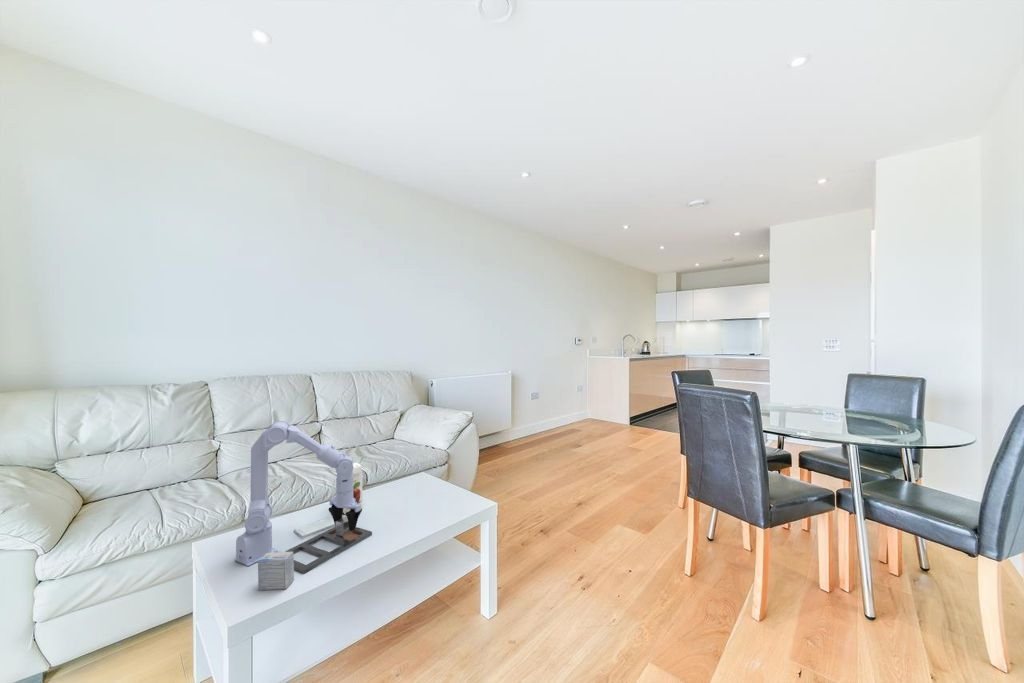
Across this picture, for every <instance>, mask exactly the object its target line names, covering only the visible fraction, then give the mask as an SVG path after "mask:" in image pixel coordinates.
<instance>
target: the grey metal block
mask: <svg viewBox="0 0 1024 683" xmlns="http://www.w3.org/2000/svg"><path fill="white" fill-rule="evenodd" d="M352 535H353V530H352V531H350V530H349V524H348V519H347V516H342V518H341V519H339V520H337V521H336V536H337V537H340V538H343V539H347V538H349V537H350V536H352Z"/></svg>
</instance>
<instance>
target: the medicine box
mask: <svg viewBox="0 0 1024 683" xmlns="http://www.w3.org/2000/svg"><path fill="white" fill-rule="evenodd" d="M294 560H295V558H294V554H293V552H285V551H278V552H272V553H267V554H265V555H264V556H263V557H262V558H261V559H260V560H259V561H258V562H257V574H258V575H257V578H258V579H257V581H258V582H257V586H258V591H270V590H271V591H272V590H286V589H288V588H289V586H290V585H292V583H293V582H294V581H295V570H294Z"/></svg>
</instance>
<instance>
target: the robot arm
mask: <svg viewBox="0 0 1024 683" xmlns="http://www.w3.org/2000/svg"><path fill="white" fill-rule="evenodd" d="M285 440H286V442H285ZM283 442H285V444H291V443H296V444H298V445H299V446H301V447H303V448H305V449H307V450H309V451H311V452H313V453H314V454H315V456H316V459H317V460H319V461H320V462H322V463H323V464H324V465H327V466H328V467H330V468H332V469H335V473H336V478H335V479H336V480H335V486H336V487H335V489H336V492H335V493H336V497H333V498H331V499H329V506H330V507H328V511H329V513H330V515H331V516H332V521H334V523H335V526H336V521H337V520H339V519H341V518H343V515H344V514H343V509H344V508H347V509H350V511H349V512H347V513H345V514H346V515H345V517H347V519H348V524H349V530H350V531H352V530H354V529H355V528H356V527H357V524H358V521H359V517H360V515H361V513H362V510H363V507H362V508H361V505H360V504H358V503H357V502H355V501H356V499H355V498H353V476H352V475H353V468H354V466H353V463H354V462H353V461H354V460H353V459H352V457H351V456H350V455H348V454H346V453H345V452H343V453H342V452H341V451H339V450H338V449H336V448H335V445H334V444H332V445H330V444H324V445H322V444H321V443H320V442H318V441H316V440H315V439H314V438H312V437H311V436H309V435H308V434H307V433H305V432H303V431H302V430H301V429H299V428H298V427H296V426H294V425H292V424H289V423H288V422H287V421H284V420H277V421H275V422H273V423H272V424H271V425H270V426H268V427H266V429H265V430H264V431H263V432H262V433H261V435H260V436H259V437H258V438H257V439H256V441H255V442H254V443H253V445H252V447H251V449H250V503H249V508H248V514H247V518H246V520H245V522H244V528H245V531H244V533H242V534H240V535H238V536H237V538H236V541H235V558H234V561H236V562H238V563H240V564H242V565H245V566H247V567H248V566H252V565H253V564H256V563H258V561H259V560H260V559H261V558H262V557H263V556H264V555H265V554H267V553H272V552H279V550H278V549H277V548H274V547H273V527H272V526H273V524H272V522H271V520H270V518H271V515H272V513H273V509H272V506H271V504H270V499H269V495H268V494H269V492H268V490H269V451H270V450H271V449H273V447H275V446H278V445H280V444H283Z"/></svg>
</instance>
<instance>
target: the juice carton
mask: <svg viewBox="0 0 1024 683" xmlns="http://www.w3.org/2000/svg"><path fill="white" fill-rule="evenodd" d="M353 466H354V468H353V475H352V476H353V498H355V499H356V501H355V502H357V503H358V504H360V505H361V508H362V509H363V503H364V502H363V501H364V500H363V494H364V493H363V469H362V465H361V464H360V463H358V462H353ZM349 511H350V509H347V508H344V509H343V513H344V514H345V513H347V512H349ZM344 514H343V515H344ZM344 516H346V514H345V515H344Z"/></svg>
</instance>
